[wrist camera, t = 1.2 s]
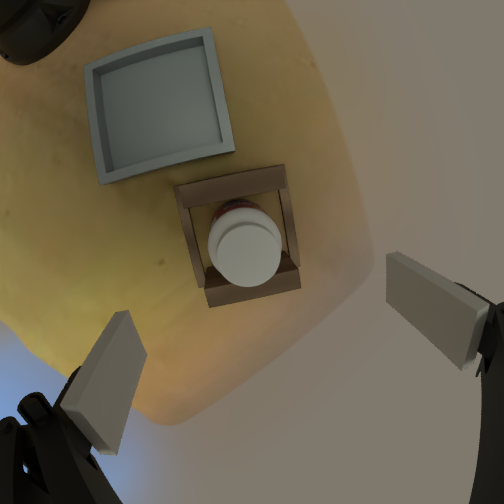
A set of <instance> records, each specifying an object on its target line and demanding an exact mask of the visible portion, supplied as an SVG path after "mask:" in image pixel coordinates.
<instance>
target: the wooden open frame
mask: <svg viewBox="0 0 504 504" xmlns="http://www.w3.org/2000/svg"><path fill="white" fill-rule="evenodd" d="M274 190H278V191H279V196H280V202H281V208H282V214H283V220H284V226H285V232H286V239H287V245H288V252H289V256H288V254H287V253H286V252H285V251H283V252H281V258H280V263H279V266H278V269H277V271H276V272H275V274H274V275H273V276H272V277H271V278H270V279H269V280H268V281H266V282H264V283H263V284H260V285H258V286H253V287H242V286H238V285H235V284H233V283H231V282H229V281H228V280H227V279H226V278H225V277H224V276H223V275H222V274H221V273H220V272H219V271H218V270H217V269H216V268H215V266H212V267H208V268H207V270H206V276H205V273H204V269H203V265H202V261H201V257H200V253H199V249H198V245H197V241H196V237H195V233H194V229H193V224H192V220H191V216H190V211H189V208H192V207H196V206H201V205H205V204H210V203H214V202H219V201H223V200H228V199H233V198H238V197H243V196H248V195H253V194H258V193H263V192H269V191H274ZM174 191H175V196H176V200H177V205H178V209H179V213H180V217H181V222H182V226H183V230H184V234H185V238H186V242H187V246H188V250H189V253H190V257H191V261H192V265H193V269H194V272H195V276H196V280H197V283H198V287H199V288H202V287H204V291H205V294H206V298H207V302H208V305H209V308H212V307H217V306H222V305H227V304H232V303H236V302H241V301H246V300H251V299H255V298H260V297H264V296H269V295H273V294H278V293H282V292H286V291H291V290H295V289H299V288H301V283H300V276H299V269H298V268H297V267H300V260H299V253H298V246H297V239H296V232H295V226H294V219H293V213H292V207H291V200H290V194H289V188H288V183H287V177H286V171H285V166H284V164H282V165H276V166H270V167H264V168H258V169H253V170H248V171H242V172H237V173H232V174H227V175H222V176H218V177H213V178H208V179H204V180H200V181H195V182H191V183H187V184H184V185H183V184H182V185H178V186H174Z"/></svg>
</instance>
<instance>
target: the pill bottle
mask: <svg viewBox="0 0 504 504" xmlns="http://www.w3.org/2000/svg"><path fill="white" fill-rule="evenodd" d="M281 250H282V239H281V235H280V232H279V229H278V227H277V226H276V224H275V223H274V221H273V220H272V219H271V218H270V217H269V216H268V215H267V214H266V213H265V212H264V211H263V209H262V208H261V207H260V206H258V205H257V204H255V203H254V202H251V201H249V200H245V199H236V200H232V201H229V202H227V203H225V204H223V205H222V206H221V207H220V208H219V209H218V210H217V211H216V213H215V214H214V217H213V219H212V223H211V227H210V232H209V237H208V253H209V256H210V259H211V261H212V263H213V265H214V266H215V268H216V269H217V270H218V271H219V272H220V273H221V274H222V275H223V276H224V277H225V278H226V279H227V280H228V281H229V282H231V283H233V284H235V285H238V286H242V287H253V286H258V285H260V284H263V283H264V282H266V281H268V280H269V279H270V278H271V277H272V276H273V275H274V274H275V272H276V271H277V269H278V266H279V263H280V258H281Z"/></svg>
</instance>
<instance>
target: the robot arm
mask: <svg viewBox="0 0 504 504" xmlns="http://www.w3.org/2000/svg"><path fill="white" fill-rule="evenodd" d="M89 1H90V0H0V55H1V56H2V57H3V58H4V59H5V60H6V61H8V62H11V63H13V64H16V65H27V64H30V63H33V62H35V61H37V60H39V59H41V58H43V57H44V56H46V55H47V54H49V53H50V52H51V51H52V50H54V49H55V48H56V47H57V46H58V45H59V44H61V43H62V42H63V41H64V40H65V39H66V38H67V37H68V35H69V34H70V33H71V32H72V31H73V30H74V28H75V27H76V26H77V24H78V23H79V22H80V20H81V19H82V17H83V15H84V13H85V11H86V9H87V7H88V5H89ZM386 302H387V303H388V304H389V305H391V306H392V307H393V308H394V309H395V310H396V311H397V312H398V313H400V314H401V315H402V316H403V317H404V318H405V319H406V320H407V321H408V322H410V323H411V324H412V325H413V326H414V327H415V328H416V329H417V330H419V331H420V332H421V333H422V334H423V335H424V336H425V337H426V338H427V339H428V340H429V341H430V342H431V343H433V344H434V345H435V346H436V347H437V348H438V349H439V350H440V351H441V352H442V353H443V354H444V355H445V356H446V357H447V358H448V359H450V360H451V362H453V363H454V364H455V365H456V366H457V367H458V368H459V369H460V370H461V371H463V370H464V369H466V368H467V367H469V366H471V365H472V364H473V363H474V361H475V358H476V355H477V352H479V353H480V354H482V358H481V362H480V364H479V367H478V370H477V373H476V377H478V375H479V372H480V371H481V383H482V384H481V388H482V410H481V430H480V442H479V451H478V459H477V467H476V472H475V478H474V483H473V488H472V493H471V498H470V501H469V504H504V302H502V303H499V304H498V305H495V304H494V303H492V302H490V301H489V300H487V299H485V298H484V297H482V296H481V295H479V294H476V292H474V291H472V290H470V289H469V288H467V287H466V286H464V285H462V284H459V283H456V282H452V281H451V280H449V279H447V278H445V277H444V276H442V275H440V274H438V273H436V272H435V271H433V270H431V269H430V268H428V267H426V266H424V265H422V264H420V263H419V262H417V261H415V260H413V259H411V258H409V257H407V256H406V255H404V254H402V253H400V252H398V251H397V252H393V253H389V254H386ZM146 357H147V353H146V351H145V349H144V346H143V344H142V342H141V340H140V337H139V335H138V333H137V330H136V328H135V325H134V323H133V320H132V318H131V315H130V313H129V310H126V311H120V312H115V314H114V315H113V317H112V318H111V320H110V321H109V323H108V324H107V326H106V327H105V329H104V331H103V332H102V334H101V335H100V337H99V338H98V340H97V342H96V343H95V345H94V346H93V348H92V350H91V351H90V353H89V355H88V356H87V358H86V360H85V361H84V363H83V365H82V366H79V367H78V368H77V369H76V370H75V371H74V372H73V373H72V374H71V376H70V378H69V379H68V383H66V384H65V386H64V389H63V390H62V391H61V393H60V395H59V397H58V399H57V400H56V402H55V404H54V406H53V407H52V406H51V405H50V403H49V402H48V401H47V399H46V398H45V396H44V395H43V394H42V393H40V392H33V393H30V394H28V395H27V396H25V397H24V398H23V399H22V400H21V401H20V403H19V405H18V408H17V411H18V412H19V414H20V415H21V416H22V417H23V419H24V420H25V421H26V422H27V423H28V425H20V423H19V422H18V421H17V420H16V418H14V417H12V416H9V417H6V418H3V419H2V420H0V504H123V503H122V502H121V500H120V499H119V497H118V496H117V494H116V493H115V491H114V490H113V488H112V487H111V485H110V483H109V482H108V480H107V479H106V477H105V475H104V473H103V472H102V470H101V468H100V467H99V465H98V463H97V461H96V459H95V457H94V456H93V455H92V454H91V453H90V450H91V447H92V446H93V447H94V448H95V449H96V450H97V451H98V452H99V453H100V454H104V455H117V453H118V449H119V446H120V442H121V438H122V434H123V431H124V427H125V424H126V421H127V417H128V414H129V410H130V407H131V404H132V400H133V397H134V394H135V391H136V388H137V385H138V381H139V378H140V375H141V372H142V369H143V366H144V363H145V360H146ZM23 465H24V466H26V467H27V468H28V472H27V473H25V472H24V469H23Z"/></svg>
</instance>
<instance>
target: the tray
mask: <svg viewBox="0 0 504 504" xmlns="http://www.w3.org/2000/svg"><path fill="white" fill-rule="evenodd" d="M84 77H85V91H86V102H87V111H88V119H89V127H90V134H91V141H92V147H93V153H94V158H95V164H96V169H97V174H98V179H99V184H100V186H101V185H106V184H111V183H115V182H118V181H121V180H124V179H128V178H131V177H134V176H138V175H141V174H145V173H148V172H152V171H155V170H159V169H163V168H167V167H171V166H175V165H179V164H183V163H187V162H191V161H195V160H200V159H204V158H209V157H213V156H218V155H223V154H228V153H233V152H235V145H234V140H233V135H232V130H231V125H230V120H229V114H228V109H227V104H226V99H225V94H224V89H223V84H222V79H221V74H220V69H219V64H218V59H217V54H216V49H215V44H214V39H213V34H212V29H211V27H208V28H202V29H197V30H192V31H187V32H183V33H178V34H174V35H170V36H166V37H162V38H159V39H155V40H152V41H148V42H145V43H142V44H139V45H136V46H133V47H130V48H127V49H124V50H121V51H118V52H116V53H113V54H110V55H108V56H105V57H103V58H100V59H98V60H95V61H93V62H91V63H88V64H86V65H84Z"/></svg>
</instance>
